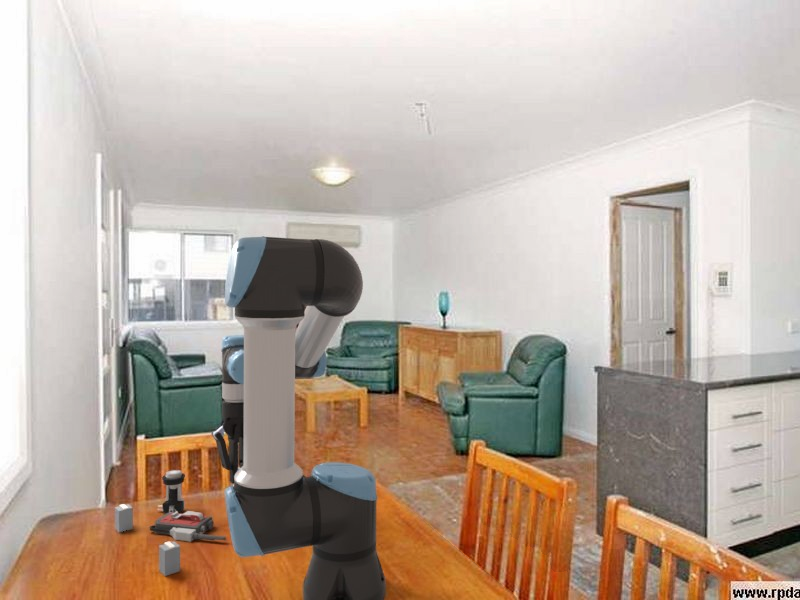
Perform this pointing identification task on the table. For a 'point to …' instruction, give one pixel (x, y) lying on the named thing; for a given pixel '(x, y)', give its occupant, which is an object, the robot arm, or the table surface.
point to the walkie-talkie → (185, 526)
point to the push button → (173, 492)
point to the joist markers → (167, 551)
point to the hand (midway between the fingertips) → (238, 495)
